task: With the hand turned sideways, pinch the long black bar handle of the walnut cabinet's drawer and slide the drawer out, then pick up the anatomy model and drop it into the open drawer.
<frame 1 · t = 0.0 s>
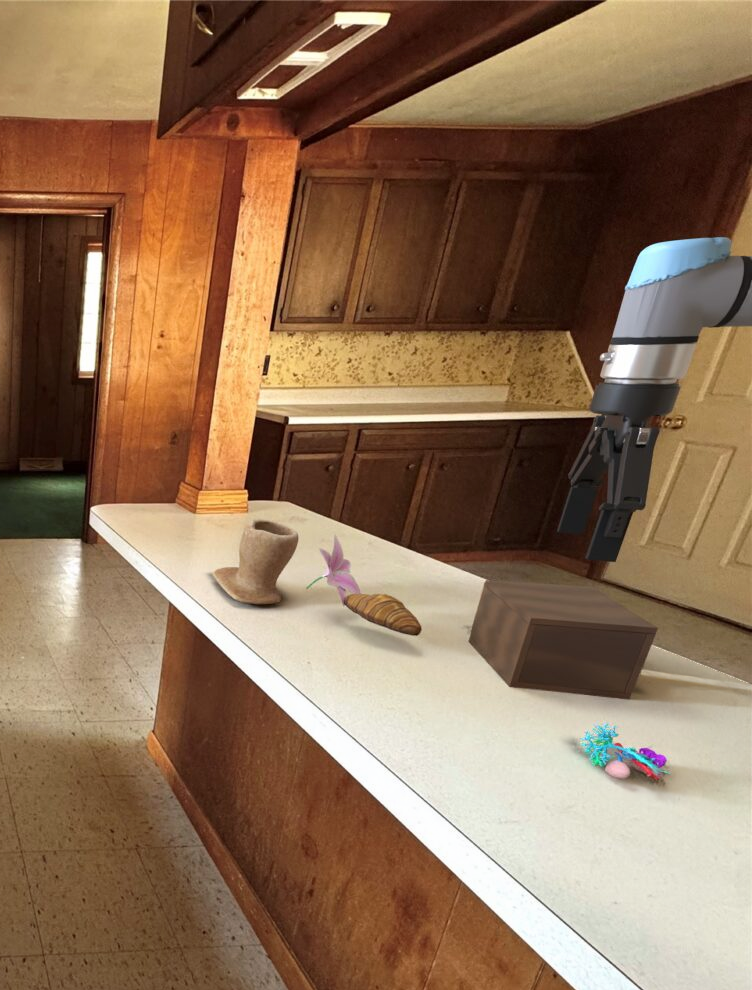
hand: (584, 545, 89), 20 cm above the countertop, tool pointing down, fingers open, 13 cm apart
drawer: (536, 621, 102), point 5 cm above the countertop, slide at 0.5 cm
cabinet: (541, 667, 100), on the countertop
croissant: (378, 622, 110), point 3 cm above the countertop, touching lily
lily: (330, 596, 119), point 4 cm above the countertop, touching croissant
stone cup: (251, 595, 131), on the countertop
anatomy model: (624, 775, 76), on the countertop
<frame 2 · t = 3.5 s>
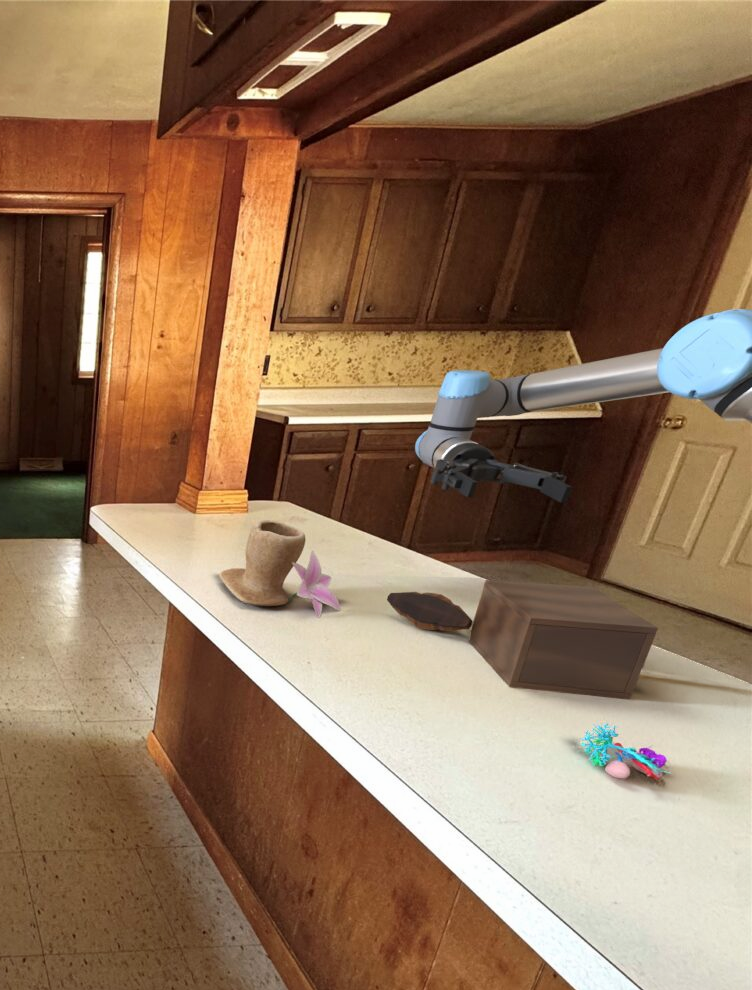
hand: (519, 492, 111), 22 cm above the countertop, tool horizontal, fingers open, 13 cm apart
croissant: (425, 606, 112), point 4 cm above the countertop
lily: (309, 609, 123), on the countertop, touching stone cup
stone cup: (258, 597, 130), on the countertop, touching lily
everything else where it was.
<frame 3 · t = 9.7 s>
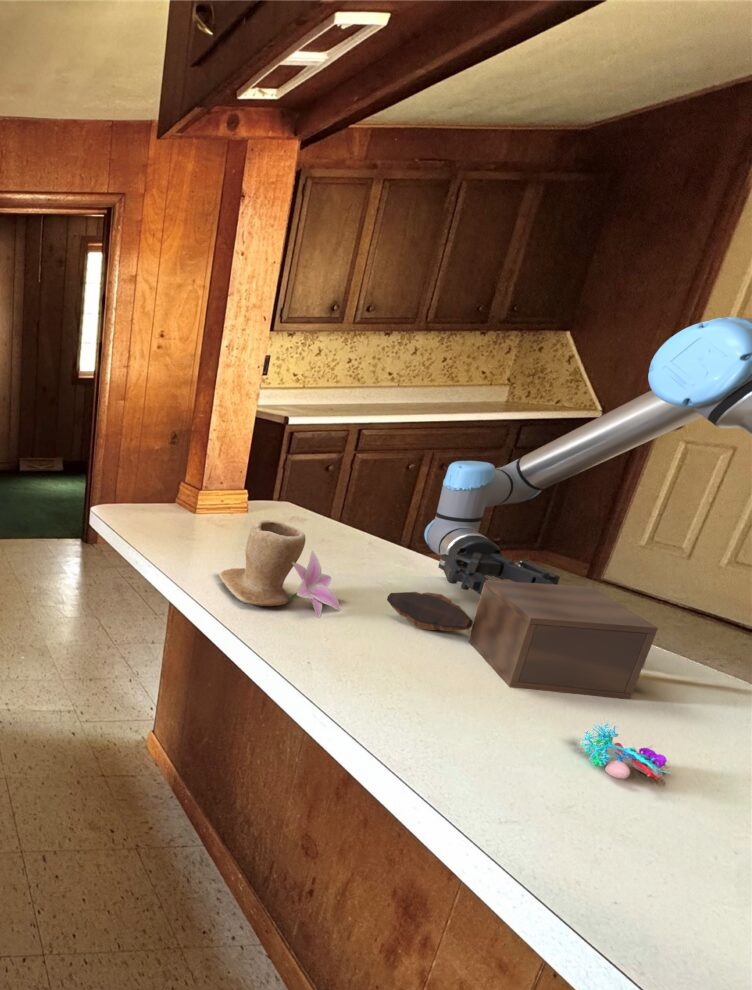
hand: (522, 595, 107), 7 cm above the countertop, tool horizontal, fingers closed on drawer, 8 cm apart
drawer: (536, 621, 102), point 5 cm above the countertop, slide at 0.5 cm, touching gripper
everything else where it was.
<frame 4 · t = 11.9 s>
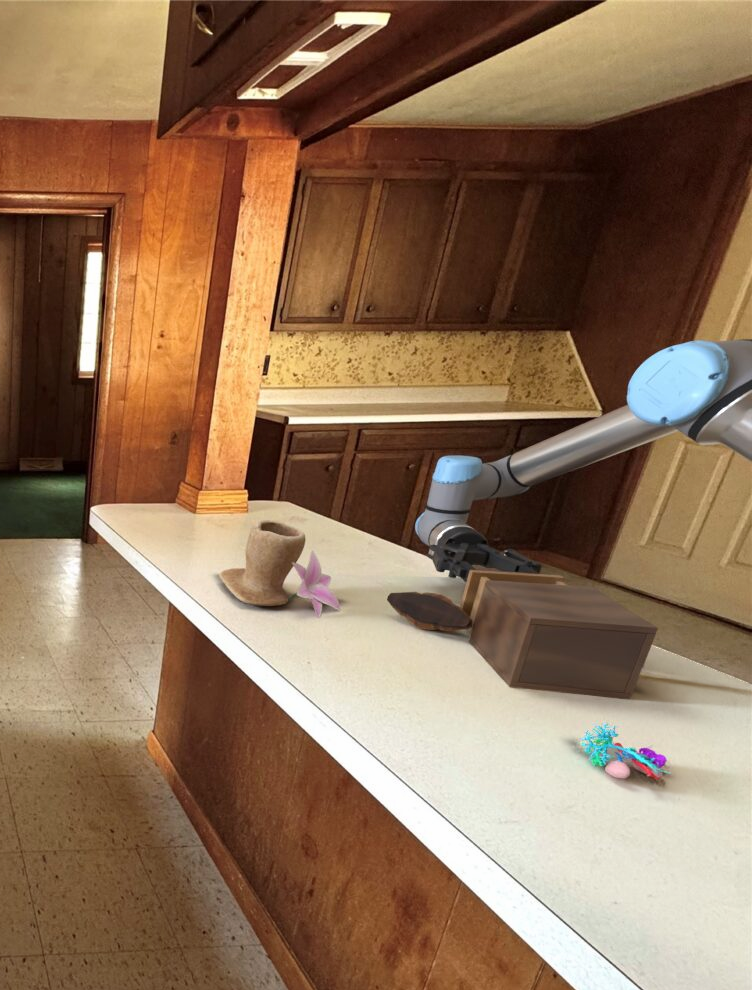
hand: (506, 582, 112), 7 cm above the countertop, tool horizontal, fingers closed on drawer, 8 cm apart
drawer: (518, 606, 108), point 5 cm above the countertop, slide at 6.8 cm, touching gripper
everything else where it was.
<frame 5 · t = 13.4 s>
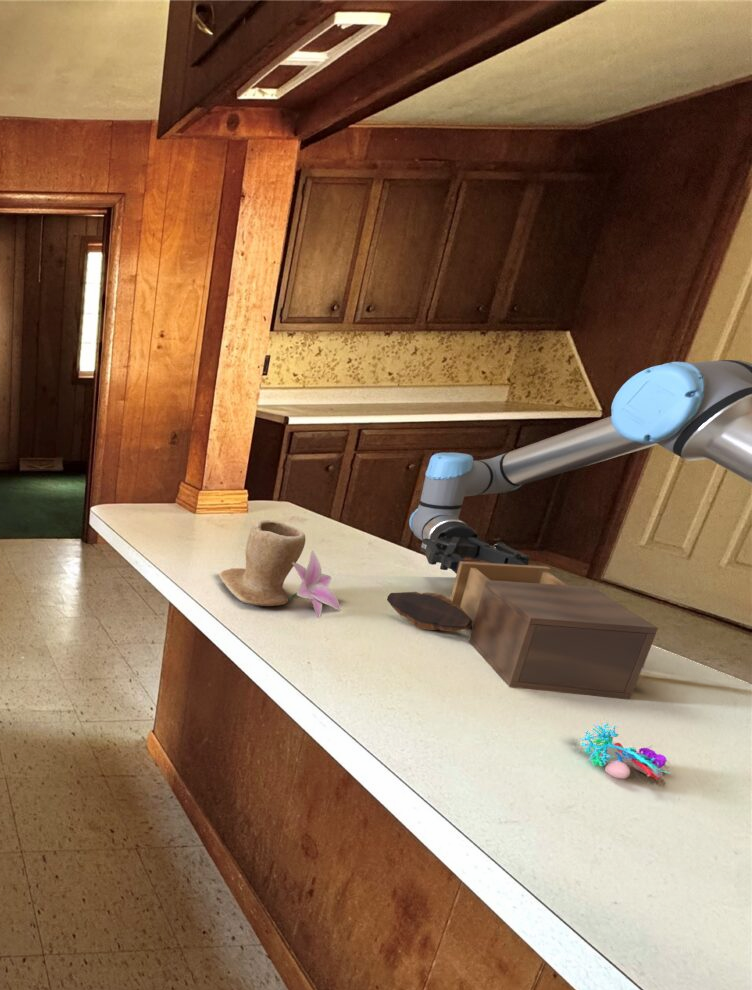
hand: (495, 573, 116), 7 cm above the countertop, tool horizontal, fingers closed on drawer, 8 cm apart
drawer: (506, 596, 112), point 5 cm above the countertop, slide at 11.4 cm, touching gripper
everything else where it was.
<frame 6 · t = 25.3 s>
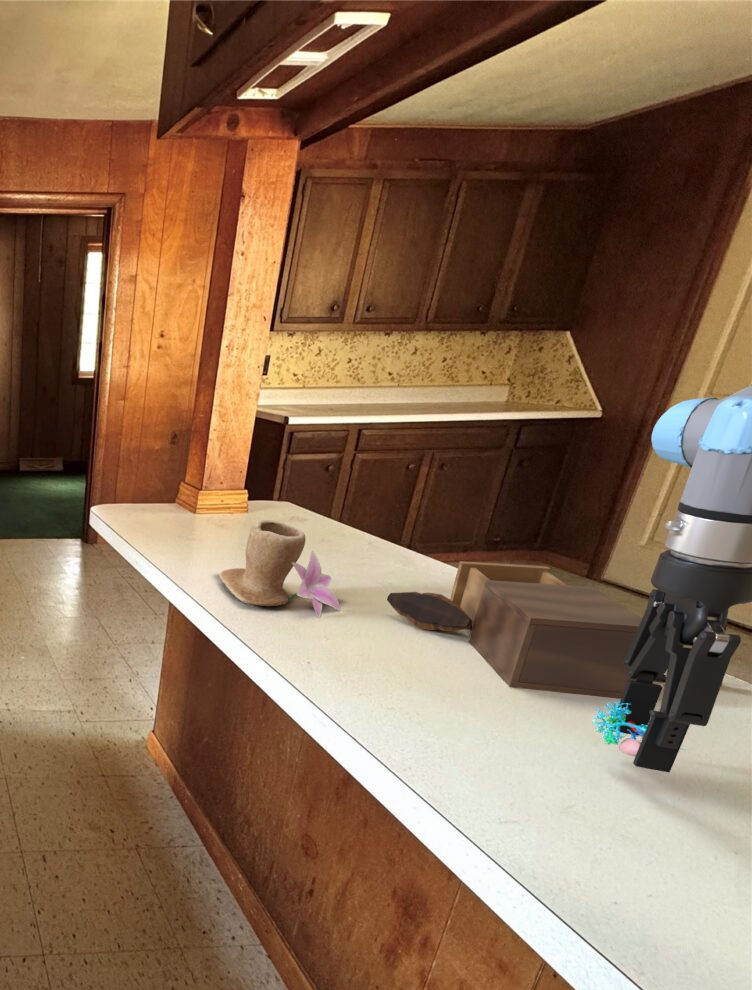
hand: (638, 748, 75), 3 cm above the countertop, tool pointing down, fingers closed on anatomy model, 7 cm apart
drawer: (506, 596, 112), point 5 cm above the countertop, slide at 11.5 cm
anatomy model: (638, 753, 75), point 3 cm above the countertop, touching gripper
everything else where it was.
when the fingers open (7 cm above the countertop, at t = 32.3 s): anatomy model drops 4 cm, resting on drawer.
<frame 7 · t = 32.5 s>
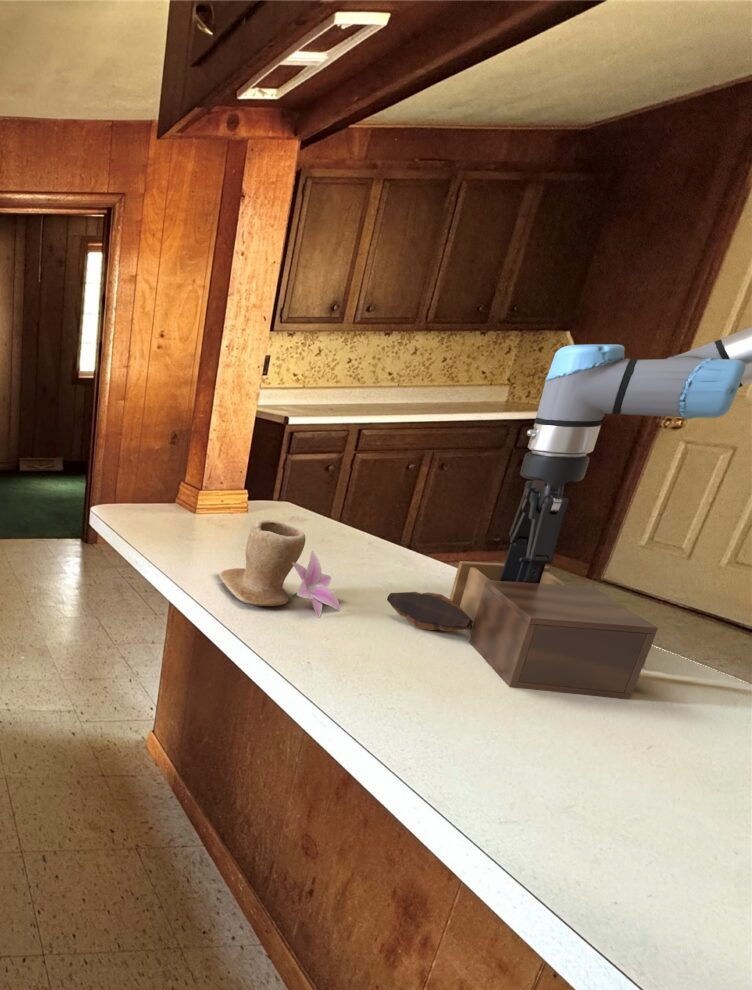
hand: (516, 590, 109), 7 cm above the countertop, tool pointing down, fingers open, 8 cm apart
drawer: (506, 596, 112), point 5 cm above the countertop, slide at 11.6 cm, touching anatomy model
anatomy model: (509, 617, 110), point 3 cm above the countertop, touching drawer
everything else where it was.
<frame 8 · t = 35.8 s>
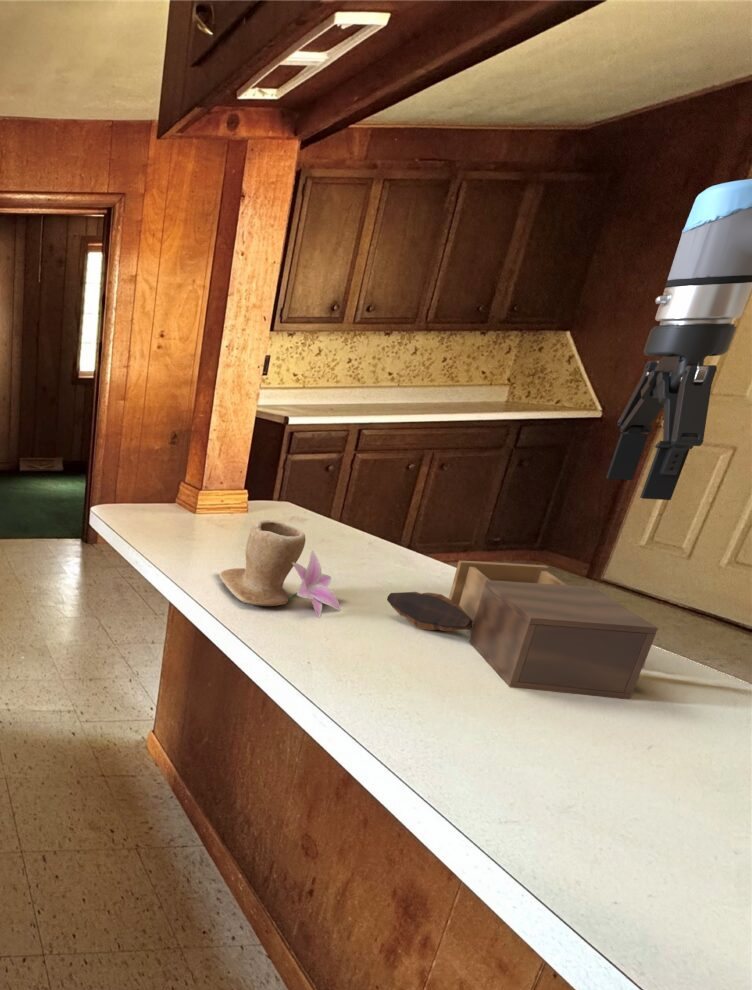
hand: (635, 488, 91), 27 cm above the countertop, tool pointing down, fingers open, 13 cm apart
drawer: (505, 595, 112), point 5 cm above the countertop, slide at 12.0 cm, touching anatomy model
at the end: drawer slide at 12.0 cm; anatomy model inside the target area in the drawer (0.2 cm from its centre), point 1.9 cm above the cabinet's base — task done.
